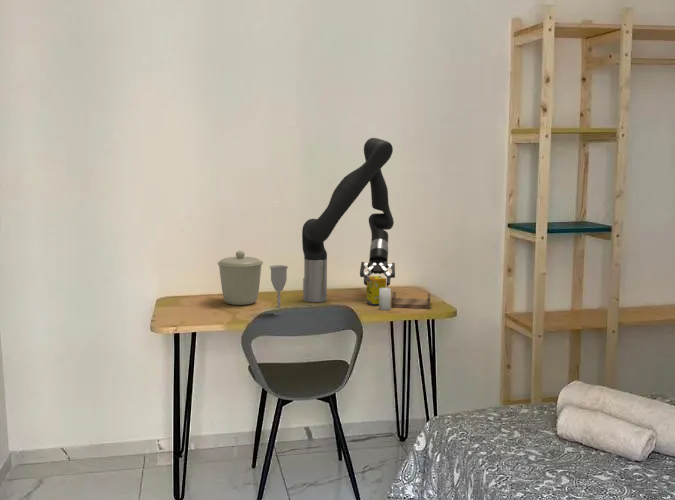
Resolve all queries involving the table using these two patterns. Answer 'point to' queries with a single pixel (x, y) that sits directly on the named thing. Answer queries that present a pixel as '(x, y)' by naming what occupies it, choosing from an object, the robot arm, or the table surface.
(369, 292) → the supplement box
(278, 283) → the chalice
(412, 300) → the wooden tray
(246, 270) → the canister
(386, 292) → the white rounded capsule
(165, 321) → the table surface
